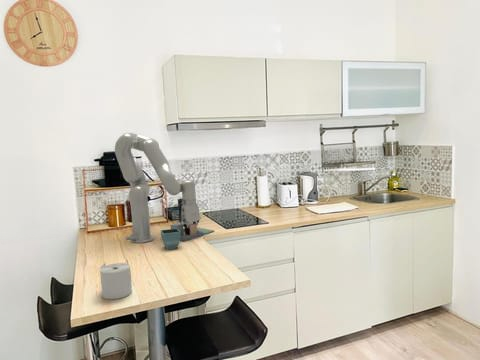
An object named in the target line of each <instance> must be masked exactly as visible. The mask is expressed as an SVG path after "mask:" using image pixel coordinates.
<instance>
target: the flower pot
mask: <svg viewBox="0 0 480 360" xmlns="http://www.w3.org/2000/svg"><path fill="white" fill-rule="evenodd" d="M160 236H161V241H162V243H163V246H164V247H165V248H166V250H172V249H178V247H179V244H180V242H181V241H180V231H179V230H178V229H177V228H175V229H171V228H168V229H161V230H160Z"/></svg>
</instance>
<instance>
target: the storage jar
mask: <svg viewBox="0 0 480 360" xmlns="http://www.w3.org/2000/svg"><path fill="white" fill-rule="evenodd" d="M182 201H183V200H182V197H181V198H177V206H178V223H180V222H181V220H182V205H183V204H182V203H181V202H182Z"/></svg>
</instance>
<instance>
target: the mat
mask: <svg viewBox="0 0 480 360" xmlns="http://www.w3.org/2000/svg"><path fill="white" fill-rule="evenodd" d="M197 231H201V232H203V236H205V235H209V234H211V233H215V230H213V229H209V228H202V227H198V226H197Z"/></svg>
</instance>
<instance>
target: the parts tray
mask: <svg viewBox="0 0 480 360" xmlns="http://www.w3.org/2000/svg"><path fill="white" fill-rule="evenodd" d="M183 231H184V235H183V236H180V242H184V243H185V242H188V241H191V240H194V239H197V238H201V237H203V236H204V235H203V232H201V231H197V232H198V233H196V234H192V235H189V236H185V228H184V227H183Z"/></svg>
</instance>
